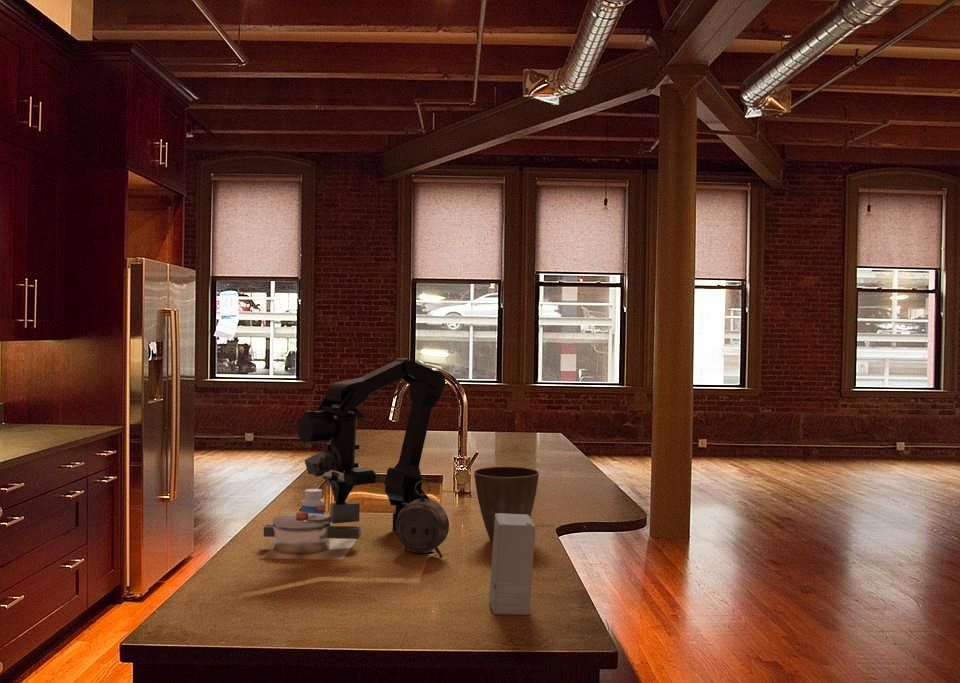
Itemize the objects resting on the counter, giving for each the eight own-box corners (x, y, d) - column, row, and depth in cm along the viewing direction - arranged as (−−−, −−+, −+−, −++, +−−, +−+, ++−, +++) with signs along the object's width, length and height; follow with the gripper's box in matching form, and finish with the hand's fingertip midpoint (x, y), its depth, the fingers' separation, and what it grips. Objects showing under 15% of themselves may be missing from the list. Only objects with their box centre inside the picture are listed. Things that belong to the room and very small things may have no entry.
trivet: (357, 542, 200) (357, 539, 200) (342, 563, 182) (342, 559, 182) (282, 541, 201) (282, 537, 201) (260, 561, 183) (260, 557, 183)
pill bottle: (318, 534, 208) (319, 492, 208) (297, 532, 210) (297, 491, 209) (327, 529, 214) (328, 488, 214) (306, 527, 215) (307, 487, 215)
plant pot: (508, 552, 194) (509, 479, 194) (459, 540, 204) (460, 471, 204) (551, 541, 205) (552, 471, 205) (502, 530, 215) (503, 464, 215)
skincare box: (488, 601, 158) (489, 512, 158) (528, 600, 159) (529, 512, 159) (493, 616, 150) (494, 522, 150) (535, 615, 150) (536, 522, 150)
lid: (280, 533, 183) (280, 514, 183) (267, 521, 194) (267, 503, 194) (366, 525, 191) (366, 507, 191) (349, 515, 203) (349, 497, 203)
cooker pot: (257, 554, 186) (257, 530, 186) (272, 540, 198) (272, 518, 198) (354, 556, 185) (355, 532, 185) (363, 542, 197) (364, 520, 197)
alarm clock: (449, 555, 190) (450, 480, 190) (441, 562, 185) (442, 484, 185) (401, 551, 193) (402, 477, 193) (392, 557, 188) (393, 481, 188)
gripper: (288, 435, 198) (285, 504, 199) (336, 448, 184) (332, 523, 185) (330, 432, 206) (327, 499, 206) (379, 445, 192) (375, 516, 193)
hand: (339, 509), depth 197 cm, fingers closed
